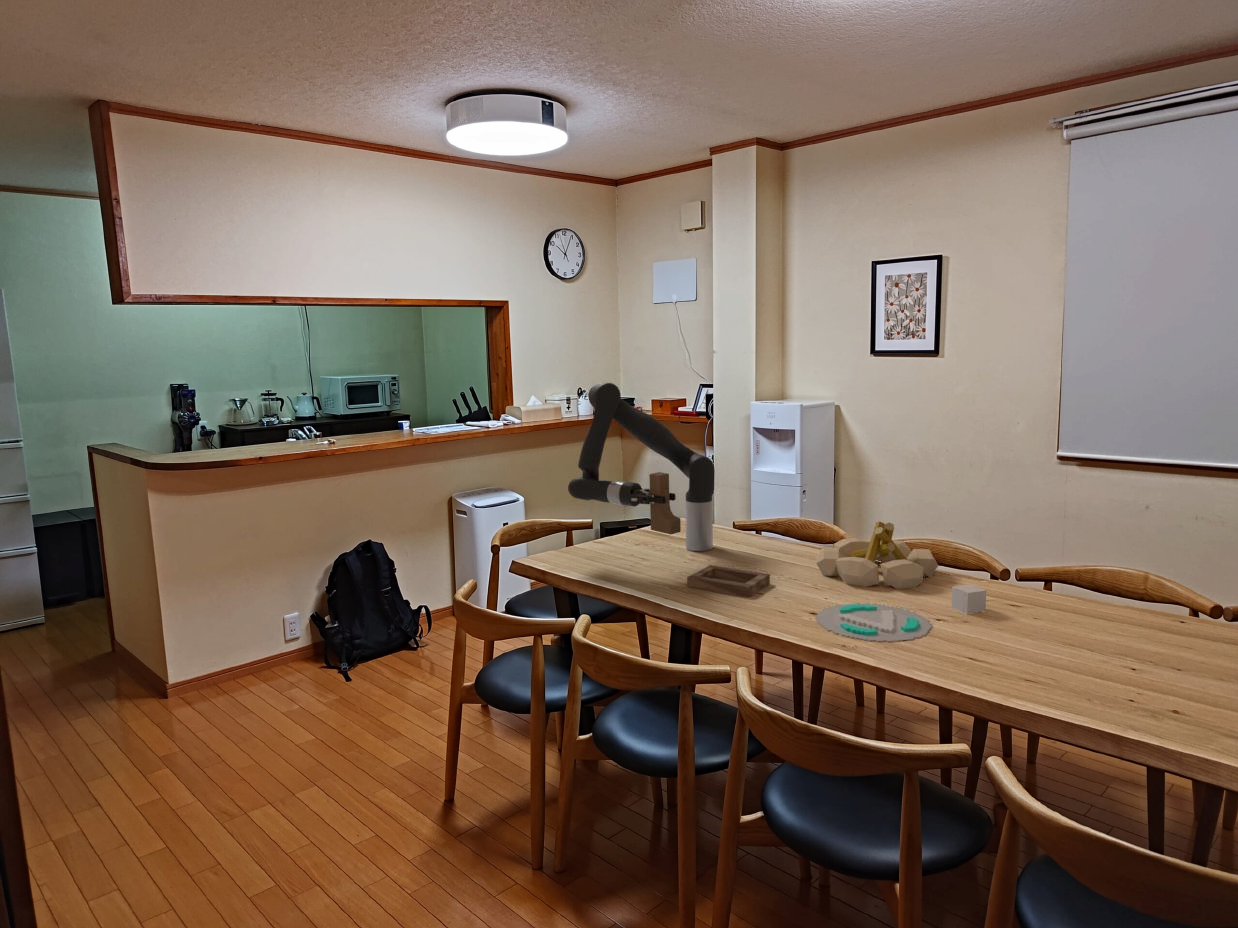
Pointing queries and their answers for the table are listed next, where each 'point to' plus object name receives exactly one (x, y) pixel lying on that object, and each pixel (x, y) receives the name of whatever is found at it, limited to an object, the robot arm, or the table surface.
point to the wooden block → (662, 506)
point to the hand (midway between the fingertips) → (670, 498)
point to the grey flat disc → (873, 622)
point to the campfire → (859, 555)
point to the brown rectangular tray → (706, 581)
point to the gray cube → (969, 598)
